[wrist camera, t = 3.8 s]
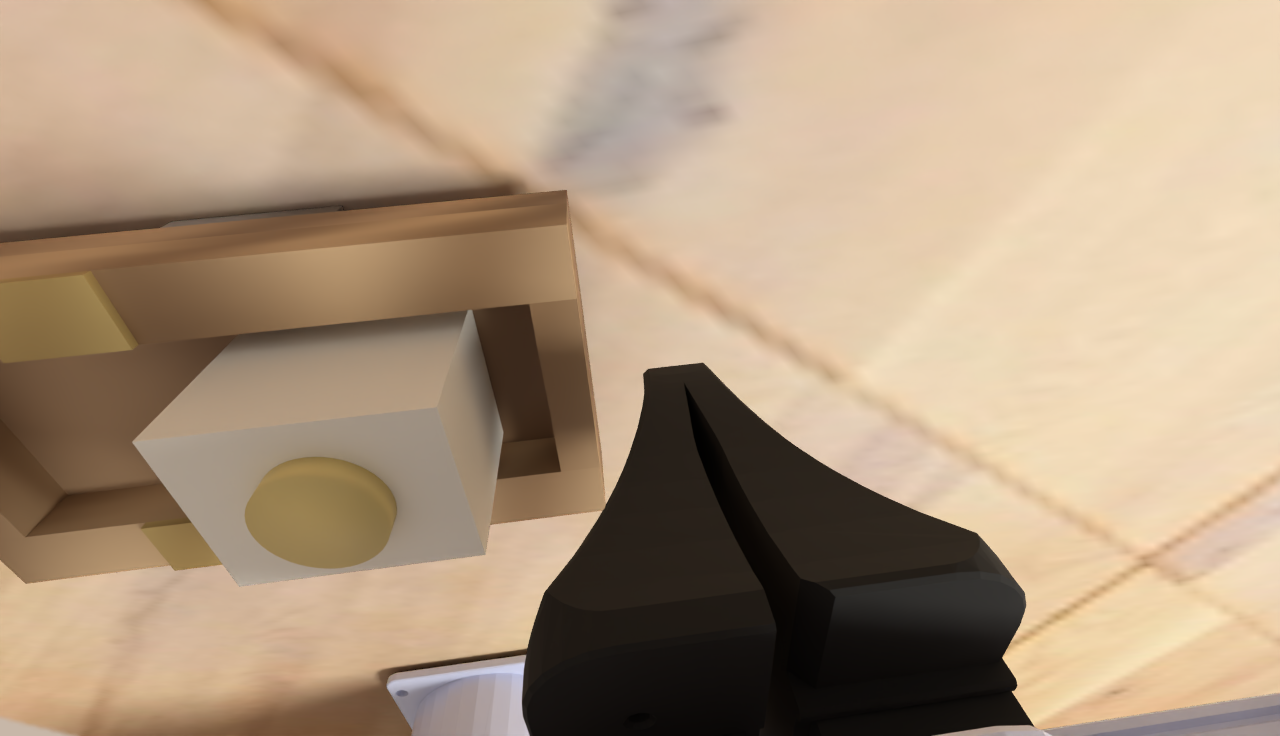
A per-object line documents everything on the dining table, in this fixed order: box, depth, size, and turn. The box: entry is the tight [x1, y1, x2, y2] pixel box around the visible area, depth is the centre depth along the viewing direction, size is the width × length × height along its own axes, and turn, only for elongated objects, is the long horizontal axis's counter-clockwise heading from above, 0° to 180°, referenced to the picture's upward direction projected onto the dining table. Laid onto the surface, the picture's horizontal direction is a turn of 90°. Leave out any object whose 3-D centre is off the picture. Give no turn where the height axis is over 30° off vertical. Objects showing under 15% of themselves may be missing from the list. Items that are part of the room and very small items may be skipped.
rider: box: [132, 310, 503, 587], centre depth 12 cm, size 5×4×4 cm
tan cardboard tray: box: [0, 190, 606, 584], centre depth 14 cm, size 15×8×4 cm, turn 93°
